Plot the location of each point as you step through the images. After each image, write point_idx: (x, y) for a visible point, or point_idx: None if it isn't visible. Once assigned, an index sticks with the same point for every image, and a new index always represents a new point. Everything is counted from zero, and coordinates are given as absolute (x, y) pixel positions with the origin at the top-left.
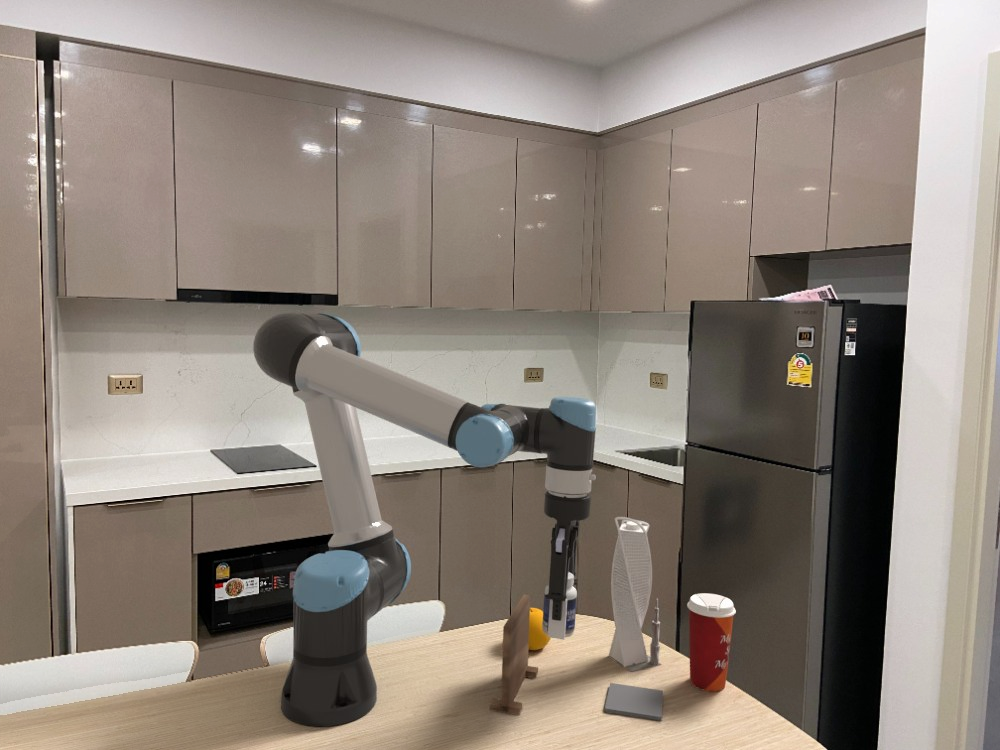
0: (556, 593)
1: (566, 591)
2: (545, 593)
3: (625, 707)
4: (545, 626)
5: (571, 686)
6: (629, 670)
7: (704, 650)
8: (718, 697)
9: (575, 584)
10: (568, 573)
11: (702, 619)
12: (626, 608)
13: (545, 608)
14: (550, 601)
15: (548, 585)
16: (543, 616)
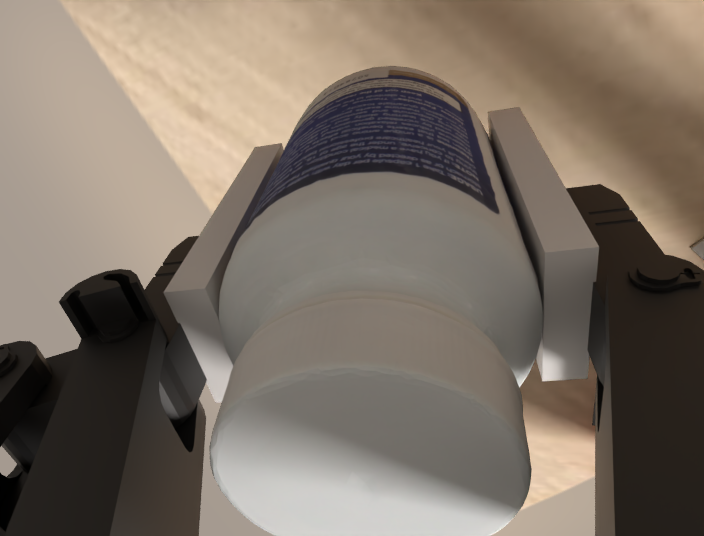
0: (3, 446)
1: (202, 456)
2: (266, 212)
3: None
4: (296, 126)
5: (517, 90)
6: (699, 241)
7: None
8: (579, 440)
9: (594, 407)
10: (458, 523)
11: None
12: None
13: (280, 165)
14: (177, 277)
15: (351, 245)
16: (314, 116)
